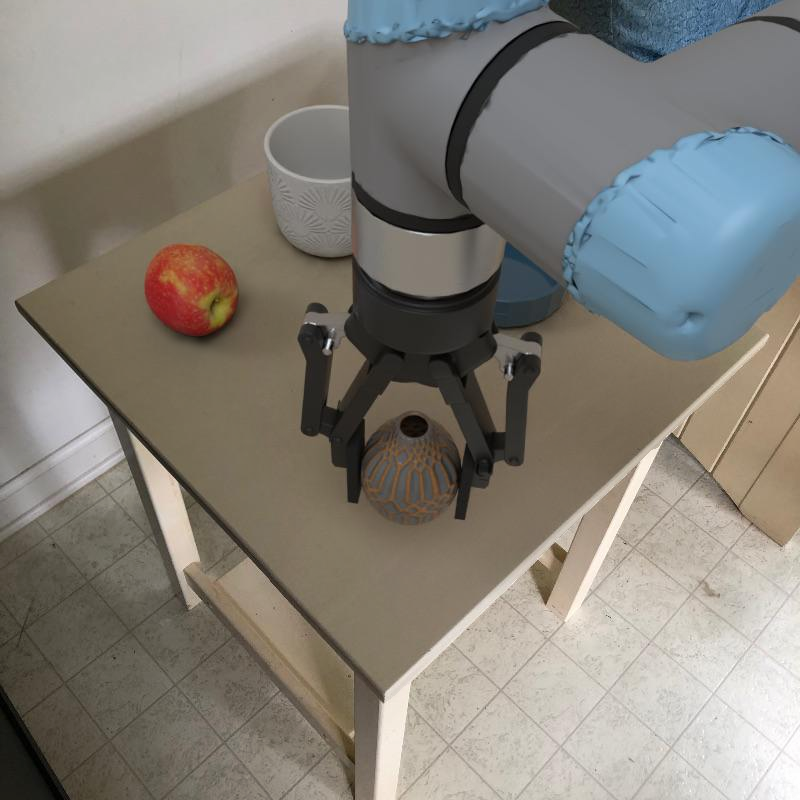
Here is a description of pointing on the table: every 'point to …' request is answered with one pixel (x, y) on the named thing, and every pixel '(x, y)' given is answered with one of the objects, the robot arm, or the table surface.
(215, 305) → the apple
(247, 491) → the table surface
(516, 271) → the bowl
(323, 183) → the planter
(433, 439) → the vase
